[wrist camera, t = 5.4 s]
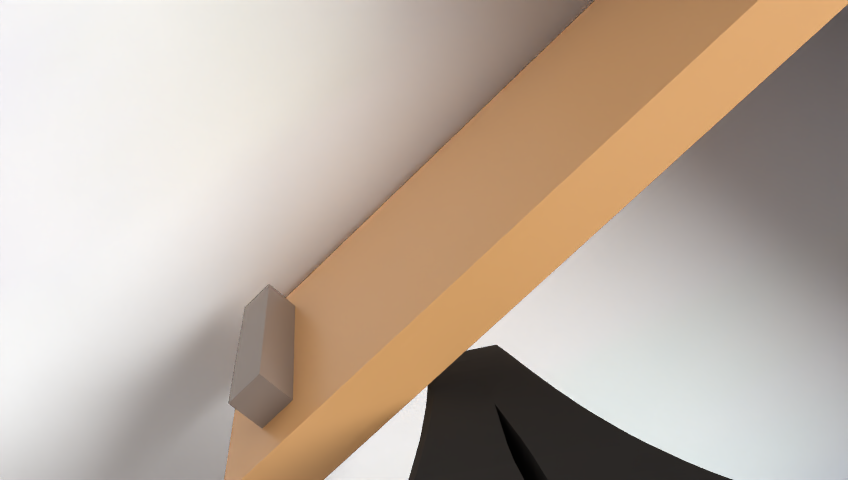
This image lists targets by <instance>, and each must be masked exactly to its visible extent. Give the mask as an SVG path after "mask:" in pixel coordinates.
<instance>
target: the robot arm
mask: <svg viewBox="0 0 848 480" xmlns="http://www.w3.org/2000/svg"><path fill="white" fill-rule="evenodd" d="M409 480H732V479H729V478H726V477H724V476H721V475H718V474H715V473H713V472H710V471H708V470H705V469H703V468H700V467H698V466H695V465H693V464H691V463H688V462H686V461H684V460H681V459H679V458H677V457H675V456H673V455H671V454H669V453H667V452H664V451H662V450H660V449H658V448H656V447H654V446H652V445H649V444H647V443H645V442H643V441H641V440H639V439H637V438H636V437H634V436H632V435H630V434H628V433H626V432H624V431H622V430H621V429H619V428H617V427H616V426H614V425H612V424H610V423H609V422H607V421H605V420H603V419H602V418H600V417H598V416H597V415H595V414H593V413H592V412H590V411H588V410H587V409H585V408H584V407H582V406H580V405H579V404H577V403H576V402H574V401H573V400H571V399H570V398H569V397H567V396H566V395H564V394H563V393H561V392H560V391H558V390H557V389H555V388H554V387H553V386H551V385H550V384H548V383H547V382H546V381H544V380H543V379H542V378H540V377H539V376H538V375H536V374H535V373H533V372H532V371H531V370H529V369H528V368H527V367H526V366H524V365H523V364H522V363H520V362H519V361H518V360H516V359H515V358H514V357H512V356H511V355H510V354H509V353H507V352H506V351H504V350H503V349H502V348H500V347H499V346H498V345H493V346H488V347H483V348H478V349H472V350H467V351H465V352H464V353H463V354H462V355H460V356H459V357H458V358H457V359H456V360H455V361H454V362H453V363H452V364H451V365H449V366H448V367H447V368H446V369H445V370H444V371H443V372H442V373H441V374H440V375H438V376H437V377H436V378H435V379H434V380H433V381H432V382H431V383H430V384H429V385H428V391H427V402H426V410H425V415H424V421H423V427H422V432H421V437H420V441H419V445H418V449H417V452H416V456H415V459H414V463H413V466H412V470H411V473H410V477H409Z"/></svg>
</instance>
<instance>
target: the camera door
mask: <svg viewBox="0 0 848 480" xmlns="http://www.w3.org/2000/svg"><path fill="white" fill-rule="evenodd" d="M846 5H848V0H595V1H594V2H593V3H592V4H591V5H590V6H588V7H587V8H586V9H585V10H584V11H583V12H582V13H581V14H580V15H579V16H578V17H577V18H576V19H575V20H574V21H573V22H572V23H571V24H570V25H569V26H568V27H567V28H566V29H565V30H564V31H562V32H561V33H560V34H559V35H558V36H557V37H556V38H555V39H554V40H553V41H552V42H551V43H550V44H549V45H548V46H547V47H546V48H545V49H544V50H543V51H542V52H541V53H540V54H539V55H538V56H537V57H535V58H534V59H533V60H532V61H531V62H530V63H529V64H528V65H527V66H526V67H525V68H524V69H523V70H522V71H521V72H520V73H519V74H518V75H517V76H516V77H515V78H514V79H513V80H512V81H511V82H510V83H508V84H507V85H506V86H505V87H504V88H503V89H502V90H501V91H500V92H499V93H498V94H497V95H496V96H495V97H494V98H493V99H492V100H491V101H490V102H489V103H488V104H487V105H486V106H485V107H484V108H483V109H481V110H480V111H479V112H478V113H477V114H476V115H475V116H474V117H473V118H472V119H471V120H470V121H469V122H468V123H467V124H466V125H465V126H464V127H463V128H462V129H461V130H460V131H459V132H458V133H457V134H455V135H454V136H453V137H452V138H451V139H450V140H449V141H448V142H447V143H446V144H445V145H444V146H443V147H442V148H441V149H440V150H439V151H438V152H437V153H436V154H435V155H434V156H433V157H432V158H431V159H430V160H428V161H427V162H426V163H425V164H424V165H423V166H422V167H421V168H420V169H419V170H418V171H417V172H416V173H415V174H414V175H413V176H412V177H411V178H410V179H409V180H408V181H407V182H406V183H405V184H404V185H403V186H401V187H400V188H399V189H398V190H397V191H396V192H395V193H394V194H393V195H392V196H391V197H390V198H389V199H388V200H387V201H386V202H385V203H384V204H383V205H382V206H381V207H380V208H379V209H378V210H377V211H375V212H374V213H373V214H372V215H371V216H370V217H369V218H368V219H367V220H366V221H365V222H364V223H363V224H362V225H361V226H360V227H359V228H358V229H357V230H356V231H355V232H354V233H353V234H352V235H351V236H350V237H348V238H347V239H346V240H345V241H344V242H343V243H342V244H341V245H340V246H339V247H338V248H337V249H336V250H335V251H334V252H333V253H332V254H331V255H330V256H329V257H328V258H327V259H326V260H325V261H324V262H323V263H321V264H320V265H319V266H318V267H317V268H316V269H315V270H314V271H313V272H312V273H311V274H310V275H309V276H308V277H307V278H306V279H305V280H304V281H303V282H302V283H301V284H300V285H299V286H298V287H297V288H295V289H294V290H293V291H292V292H291V293H290V294H289V295H288V296H287V297H286V298H285V297H284V296H283V295H282V294H280V293H279V292H278V291H277V290H276V289H274V288H273V287H272V286H271V285H270V284H269V285H268V286H267V287H266V288H265V289H263V290H262V291H261V292H260V293H259V294H258V295H257V296H256V297H255V298H254V299H253V300H252V301H251V302H250V303H249V304H248V305H247V306H246V307H245V309H244V315H243V321H242V327H241V333H240V338H239V344H238V350H237V356H236V362H235V367H234V373H233V379H232V385H231V391H230V397H229V402H228V404H230V405H231V406H232V407H234V408H235V413H234V419H233V426H232V432H231V438H230V445H229V451H228V458H227V464H226V471H225V477H224V480H324V479H325V478H326V477H327V476H328V475H329V474H330V473H331V472H333V471H334V470H335V469H336V468H337V467H338V466H339V465H340V464H341V463H343V462H344V461H345V460H346V459H347V458H348V457H349V456H350V455H351V454H352V453H354V452H355V451H356V450H357V449H358V448H359V447H360V446H361V445H362V444H363V443H365V442H366V441H367V440H368V439H369V438H370V437H371V436H372V435H373V434H374V433H376V432H377V431H378V430H379V429H380V428H381V427H382V426H383V425H384V424H386V423H387V422H388V421H389V420H390V419H391V418H392V417H393V416H394V415H395V414H397V413H398V412H399V411H400V410H401V409H402V408H403V407H404V406H405V405H406V404H408V403H409V402H410V401H411V400H412V399H413V398H414V397H415V396H416V395H417V394H419V393H420V392H421V391H422V390H423V389H424V388H425V387H426V386H427V385H429V384H430V383H431V382H432V381H433V380H434V379H435V378H436V377H437V376H438V375H440V374H441V373H442V372H443V371H444V370H445V369H446V368H447V367H448V366H449V365H451V364H452V363H453V362H454V361H455V360H456V359H457V358H458V357H459V356H460V355H462V354H463V353H464V352H465V351H466V350H467V349H468V348H469V347H470V346H472V345H473V344H474V343H475V342H476V341H477V340H478V339H479V338H480V337H481V336H483V335H484V334H485V333H486V332H487V331H488V330H489V329H490V328H491V327H492V326H494V325H495V324H496V323H497V322H498V321H499V320H500V319H501V318H502V317H503V316H505V315H506V314H507V313H508V312H509V311H510V310H511V309H512V308H513V307H515V306H516V305H517V304H518V303H519V302H520V301H521V300H522V299H523V298H524V297H526V296H527V295H528V294H529V293H530V292H531V291H532V290H533V289H534V288H535V287H537V286H538V285H539V284H540V283H541V282H542V281H543V280H544V279H545V278H546V277H548V276H549V275H550V274H551V273H552V272H553V271H554V270H555V269H556V268H558V267H559V266H560V265H561V264H562V263H563V262H564V261H565V260H566V259H567V258H569V257H570V256H571V255H572V254H573V253H574V252H575V251H576V250H577V249H578V248H580V247H581V246H582V245H583V244H584V243H585V242H586V241H587V240H588V239H589V238H591V237H592V236H593V235H594V234H595V233H596V232H597V231H598V230H599V229H601V228H602V227H603V226H604V225H605V224H606V223H607V222H608V221H609V220H610V219H612V218H613V217H614V216H615V215H616V214H617V213H618V212H619V211H620V210H621V209H623V208H624V207H625V206H626V205H627V204H628V203H629V202H630V201H631V200H633V199H634V198H635V197H636V196H637V195H638V194H639V193H640V192H641V191H642V190H644V189H645V188H646V187H647V186H648V185H649V184H650V183H651V182H652V181H653V180H655V179H656V178H657V177H658V176H659V175H660V174H661V173H662V172H663V171H664V170H666V169H667V168H668V167H669V166H670V165H671V164H672V163H673V162H674V161H676V160H677V159H678V158H679V157H680V156H681V155H682V154H683V153H684V152H685V151H687V150H688V149H689V148H690V147H691V146H692V145H693V144H694V143H695V142H696V141H698V140H699V139H700V138H701V137H702V136H703V135H704V134H705V133H706V132H707V131H709V130H710V129H711V128H712V127H713V126H714V125H715V124H716V123H717V122H719V121H720V120H721V119H722V118H723V117H724V116H725V115H726V114H727V113H728V112H730V111H731V110H732V109H733V108H734V107H735V106H736V105H737V104H738V103H739V102H741V101H742V100H743V99H744V98H745V97H746V96H747V95H748V94H749V93H750V92H752V91H753V90H754V89H755V88H756V87H757V86H758V85H759V84H760V83H762V82H763V81H764V80H765V79H766V78H767V77H768V76H769V75H770V74H771V73H773V72H774V71H775V70H776V69H777V68H778V67H779V66H780V65H781V64H782V63H784V62H785V61H786V60H787V59H788V58H789V57H790V56H791V55H792V54H793V53H795V52H796V51H797V50H798V49H799V48H800V47H801V46H802V45H803V44H805V43H806V42H807V41H808V40H809V39H810V38H811V37H812V36H813V35H814V34H816V33H817V32H818V31H819V30H820V29H821V28H822V27H823V26H824V25H825V24H827V23H828V22H829V21H830V20H831V19H832V18H833V17H834V16H835V15H836V14H838V13H839V12H840V11H841V10H842V9H843V8H844V7H845V6H846Z"/></svg>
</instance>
